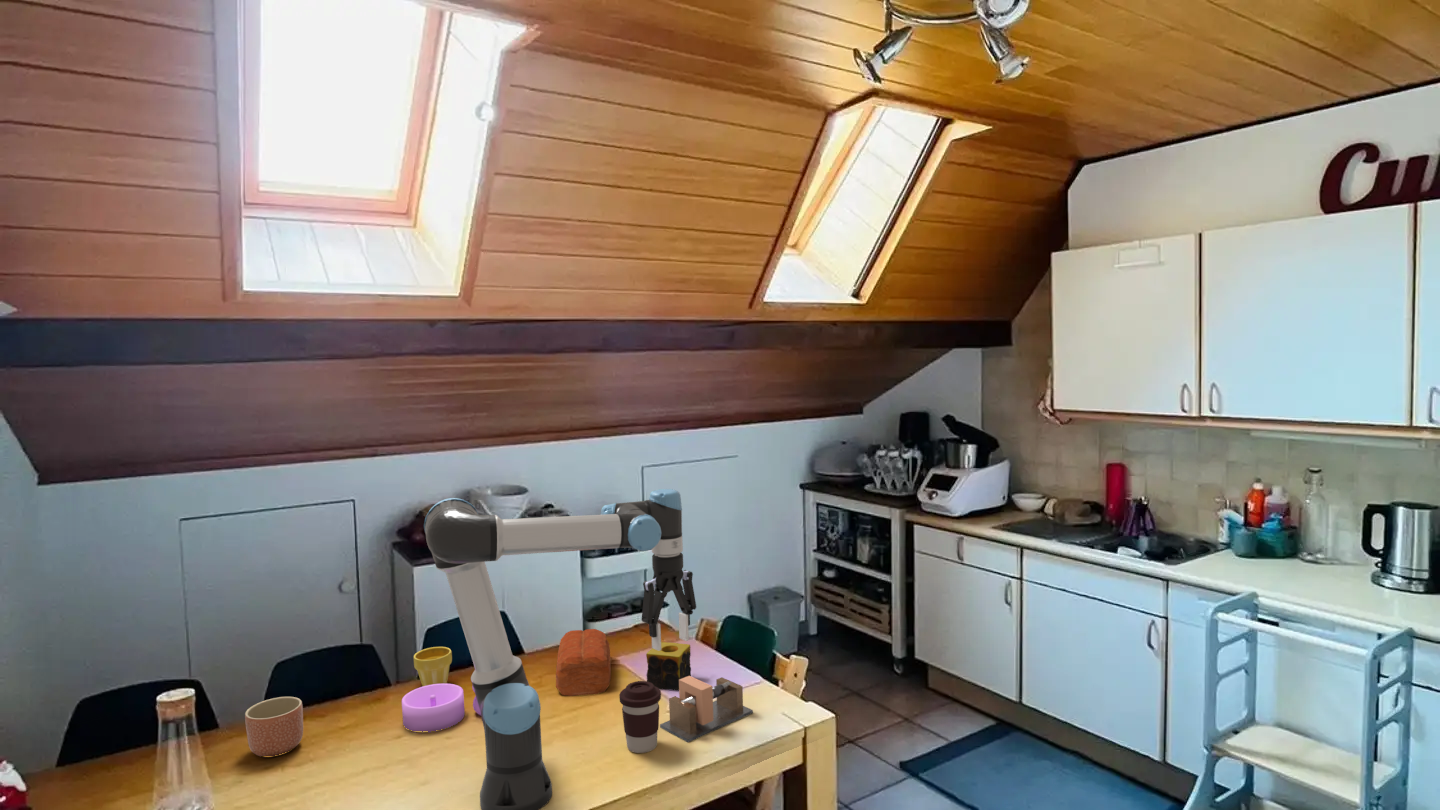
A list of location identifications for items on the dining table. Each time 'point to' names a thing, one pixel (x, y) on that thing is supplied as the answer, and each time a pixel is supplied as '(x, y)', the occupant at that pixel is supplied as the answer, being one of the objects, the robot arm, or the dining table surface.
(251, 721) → the planter
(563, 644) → the bread
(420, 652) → the plant pot
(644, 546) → the robot arm
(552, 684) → the dining table surface
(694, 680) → the collar
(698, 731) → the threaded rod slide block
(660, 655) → the candle
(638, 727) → the coffee cup
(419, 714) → the container set
